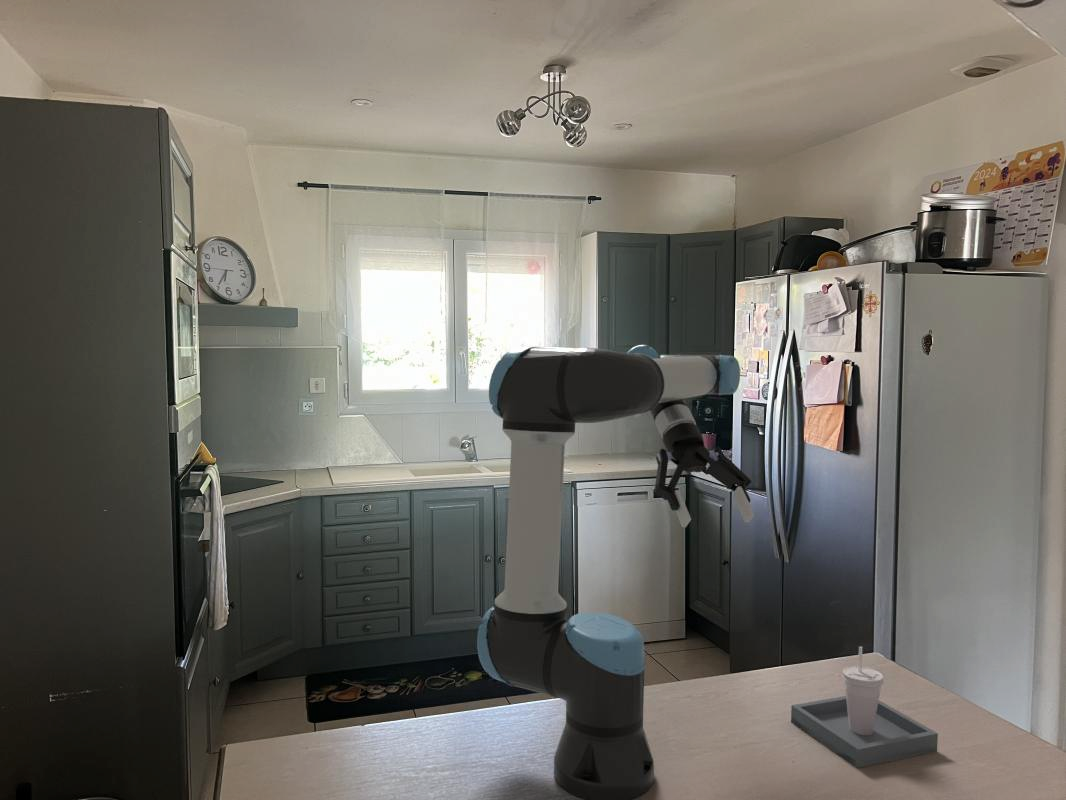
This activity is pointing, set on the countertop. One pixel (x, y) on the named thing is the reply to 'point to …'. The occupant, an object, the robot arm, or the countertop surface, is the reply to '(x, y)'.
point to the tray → (885, 744)
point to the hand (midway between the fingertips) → (718, 521)
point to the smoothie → (862, 696)
